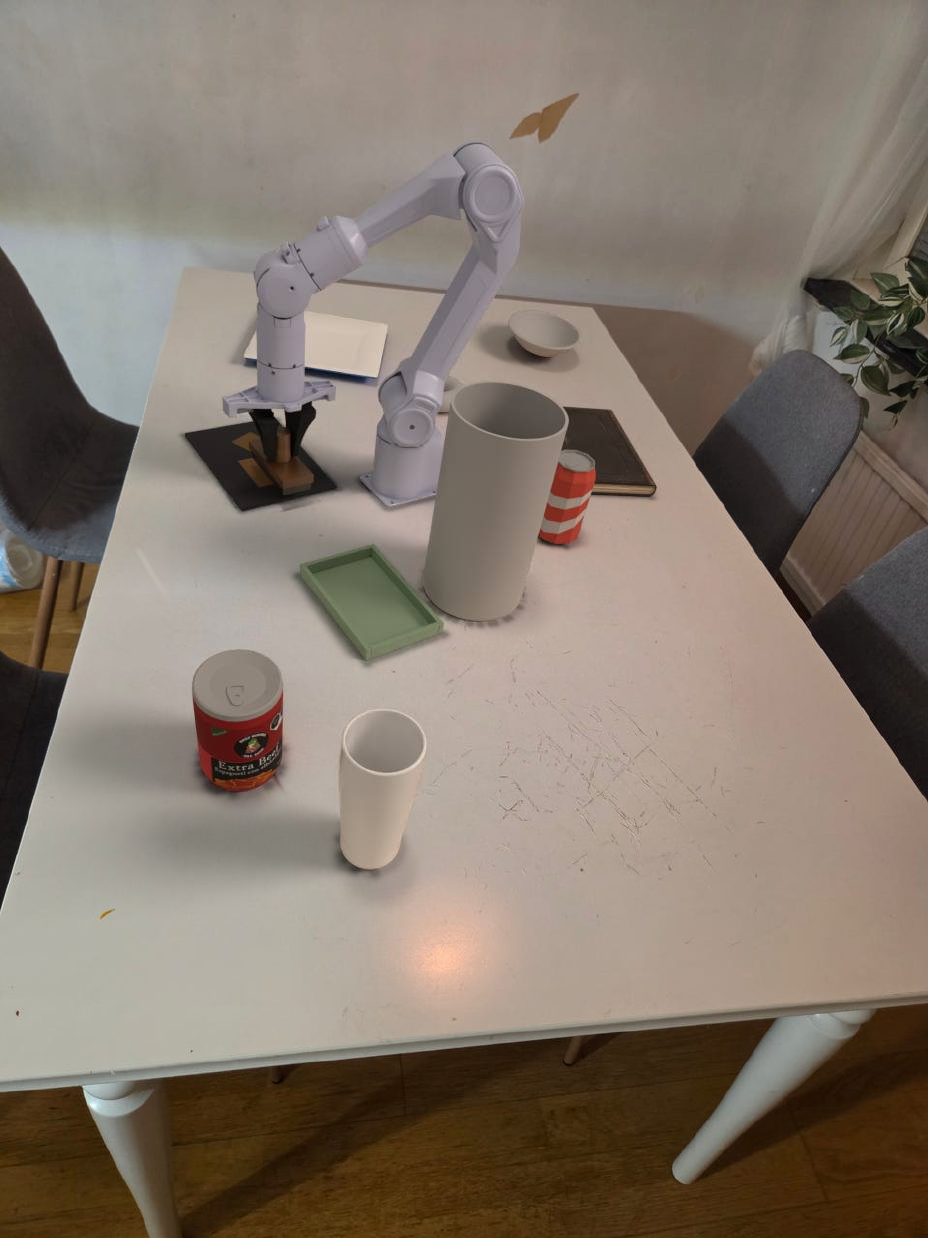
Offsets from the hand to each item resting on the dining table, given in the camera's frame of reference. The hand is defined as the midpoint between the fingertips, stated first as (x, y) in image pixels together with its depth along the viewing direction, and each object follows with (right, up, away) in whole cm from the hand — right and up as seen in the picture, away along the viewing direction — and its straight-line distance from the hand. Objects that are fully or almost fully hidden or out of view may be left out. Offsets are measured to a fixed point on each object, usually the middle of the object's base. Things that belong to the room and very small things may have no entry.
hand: (280, 455), depth 106 cm
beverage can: (+37, -10, +6) cm, 39 cm away
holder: (+13, -20, -11) cm, 27 cm away
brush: (0, -2, +2) cm, 3 cm away
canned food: (+3, -35, -30) cm, 47 cm away
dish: (+39, +30, +50) cm, 70 cm away
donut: (+20, +15, +29) cm, 38 cm away
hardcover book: (+44, +5, +23) cm, 50 cm away
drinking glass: (+16, -42, -35) cm, 57 cm away
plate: (-1, +26, +36) cm, 45 cm away
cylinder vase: (+25, -18, -6) cm, 32 cm away
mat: (-5, 0, +7) cm, 9 cm away
